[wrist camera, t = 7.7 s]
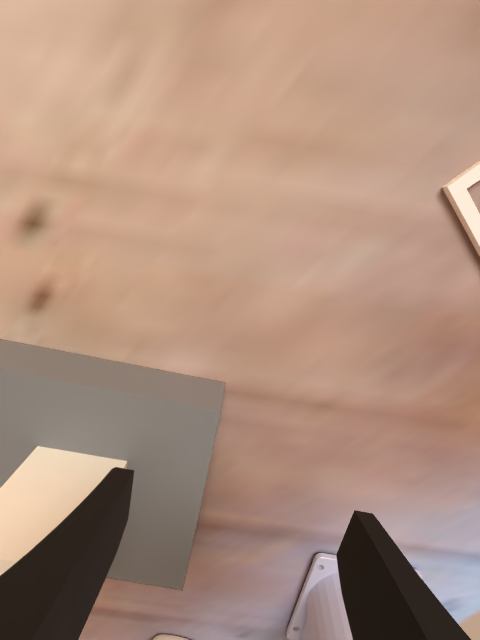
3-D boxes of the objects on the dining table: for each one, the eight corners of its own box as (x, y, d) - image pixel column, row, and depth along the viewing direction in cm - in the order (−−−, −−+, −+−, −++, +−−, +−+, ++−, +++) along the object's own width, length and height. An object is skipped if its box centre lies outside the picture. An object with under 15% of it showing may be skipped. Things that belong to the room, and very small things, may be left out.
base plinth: (190, 546, 25) (182, 590, 22) (0, 513, 24) (-33, 554, 22) (225, 382, 20) (220, 411, 18) (-7, 337, 20) (-50, 359, 17)
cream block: (121, 526, 20) (71, 650, 15) (38, 513, 20) (-44, 632, 15) (127, 461, 19) (74, 570, 13) (37, 446, 19) (-55, 550, 13)
